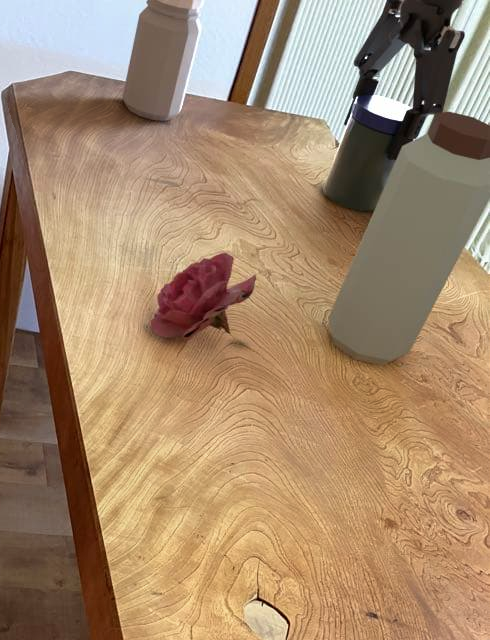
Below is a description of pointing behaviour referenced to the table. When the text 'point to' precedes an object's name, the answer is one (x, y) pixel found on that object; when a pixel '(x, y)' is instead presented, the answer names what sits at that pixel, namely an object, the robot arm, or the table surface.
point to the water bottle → (413, 239)
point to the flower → (199, 299)
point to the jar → (162, 58)
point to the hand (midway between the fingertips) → (373, 141)
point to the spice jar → (360, 167)
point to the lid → (379, 113)
